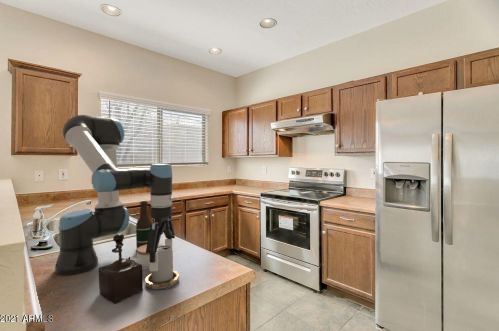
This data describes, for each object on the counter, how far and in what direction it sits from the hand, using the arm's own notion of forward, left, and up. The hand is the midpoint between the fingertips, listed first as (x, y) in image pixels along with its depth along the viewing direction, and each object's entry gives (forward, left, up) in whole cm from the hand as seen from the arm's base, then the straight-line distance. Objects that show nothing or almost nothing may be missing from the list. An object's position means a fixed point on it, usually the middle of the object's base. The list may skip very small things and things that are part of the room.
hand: (161, 262), depth 97 cm
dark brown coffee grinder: (-13, -7, -8) cm, 16 cm away
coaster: (0, 0, -7) cm, 7 cm away
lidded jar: (-11, +14, -8) cm, 19 cm away
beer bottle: (-23, +33, -8) cm, 41 cm away
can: (0, 0, -7) cm, 7 cm away
